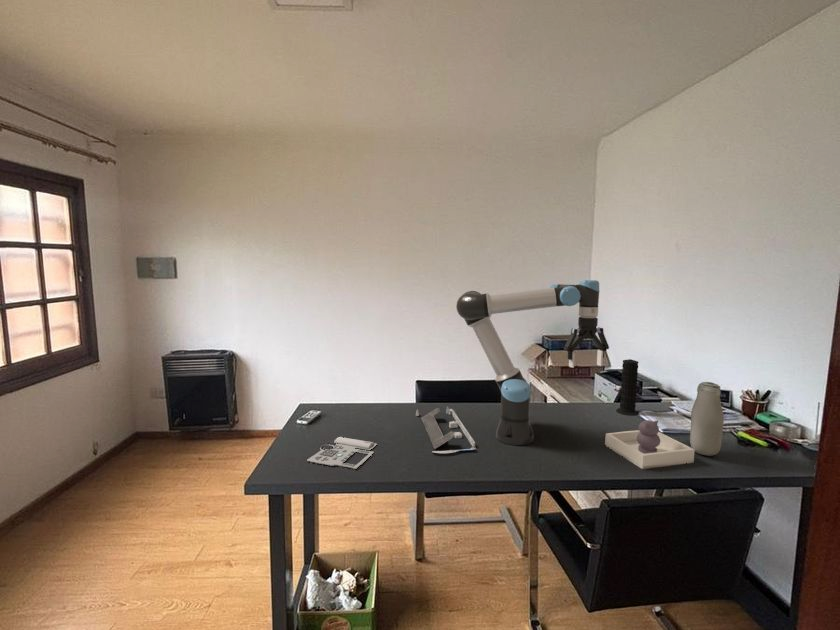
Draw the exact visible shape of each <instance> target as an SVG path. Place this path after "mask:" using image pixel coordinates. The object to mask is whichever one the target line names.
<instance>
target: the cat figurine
mask: <svg viewBox="0 0 840 630" xmlns="http://www.w3.org/2000/svg"><path fill="white" fill-rule="evenodd" d="M658 423H659V420H655V421H653V420H650V419H649V420H647V419H645V420H643V421H641V422H640V423H639V425H638V430H639V431H640V433H638V435H637V437H636V439H637V442H638V443H639V444H640V445H639V446H638V450H639V451H640V452H641V453H644V454H647V453H655V452H657V448H655V447H657V446H659V444H660V438H659V436H658V435H657V434H658V432H660V428H659V426H658Z"/></svg>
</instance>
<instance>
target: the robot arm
mask: <svg viewBox="0 0 840 630" xmlns="http://www.w3.org/2000/svg"><path fill="white" fill-rule="evenodd" d="M599 300H600V282H599V280H595V279H581V280H580V283H579V284H564V283H563V284H562V283H561V284H559V283H557V284H552V285H550V288H541V289H533V290H527V291H526V290H525V291H518V292H509V293H499V294H494V295H493V294H492V295H490V294H488V293H480V291H479V292H478V291H475V290H470V291H469V290H468V291H466V292H465V293H463V294H462V295H461V296H460V297H459V298H458V299H457V301H456V306H455V307H456V311H457V313H458V315H459V317H461V318H462V319H464V321H465V323H466V325H467V327H470V328H472V329H473V332H474V333H475V336H476V338H477V339H478V342H479V344H480V345H481V347H482V349H483V351H484V353H485V354H486V357H487V359H488V361H489V363H490V365H491V367H492V369H493V371H494V373H495V376H496V377H495V379H494V380H495V383H496V385H497V387H498V388H499V390H500V393H501V396H500V420H499V423H498V425H497V427H496V432H495V438H496V439H497V440H498V441H499V442H501V443H504V444H508V445H513V446H524V445H529V444H531V443H532V442H533V441H534V432H533V428H532V425H531V422H530V414H531V413H530V412H531V408H530V407H531V395H532V390H531V385H530V384H529V383H528V382H527V380H526V379H525V377H524V376H523V374H522V372H521V370H520V368H518V367H515V366H514V364H513V362H512V360H511V357H510V356H509V354H508V351H507V350H506V348H505V346H504V344H503V342H502V340H501V338H500V336H499V334H498V332H497V330H496V328H495V327H494V324H493V322H492V321H491V317H492V315H494V314H503V313H510V312H511V313H512V312H520V311H521V312H522V311H529V310H535V309H536V310H537V309H545V308H546V309H547V308H553V307H554V308H555V307H564V306H565V307H566V306H567V307H573V306H575V305H579V306H578V322H577V324H578V328H575V327H572V328H571V331H570V334H569V336H568V338H567V341H566V343H565V345H564V347H563V350H564V351H567V360H568V367H569V368H573V369H574V368H575V353H576V352H575V350H576V348H577V347H578V346H579V345H580V343H582V342H583V340H588V339H589V340H592V341H593V342H594V344H595V345H596V347H597V348H598V349H597V355H596V366H598V367H603V364H604V360H603V359H604V358H605V352H607V350H609V349H610V346H609V343H608V341H607V338H606V335H605V333H604V328H603V327H598V321H599V320H598V316H599Z"/></svg>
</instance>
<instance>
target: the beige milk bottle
mask: <svg viewBox="0 0 840 630" xmlns="http://www.w3.org/2000/svg"><path fill="white" fill-rule="evenodd" d="M721 392H722V391H721V386H720V385H719V384H718V383H714V382H713V381H712V382H709V381H703V382H700V383H699V384H698V385H697V389H696V398H695V400H694V403H693V406H692V408H691V412H690V432H689V443H690V447H691V448H693V449H695V452H694V453H697V454H699V455H702V456H705V457H707V456H709V457H711V456H716V455H717V454H718V453H719V452H720V451H721V447H722V441H723V440H722V439H723V430H724V429H723V428H724V421H725V420H724V419H725V416H724V411H723V408H722V404H721V403H722V400H721V394H722V393H721Z"/></svg>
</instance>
